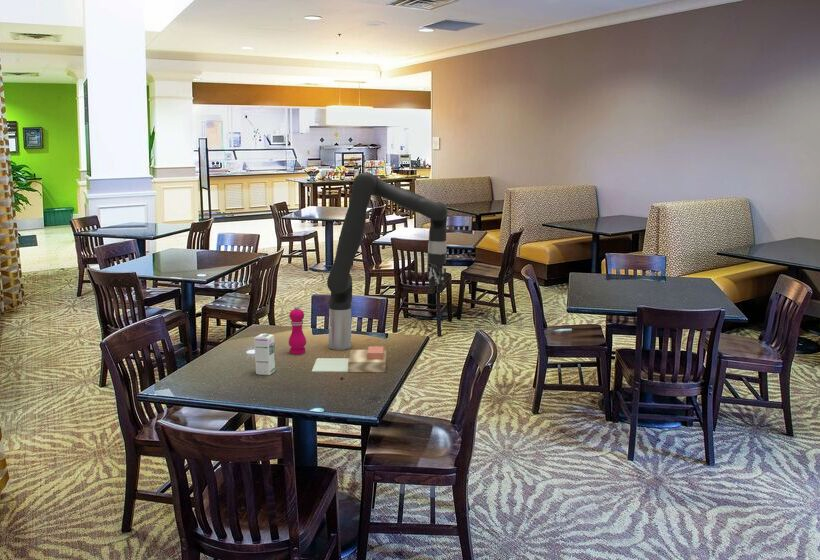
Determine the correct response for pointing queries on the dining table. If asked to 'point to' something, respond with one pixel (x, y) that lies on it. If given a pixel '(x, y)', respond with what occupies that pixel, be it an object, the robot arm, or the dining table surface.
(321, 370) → the mat
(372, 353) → the tile
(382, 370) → the board
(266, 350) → the syrup box
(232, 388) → the dining table surface
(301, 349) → the pepper mill
